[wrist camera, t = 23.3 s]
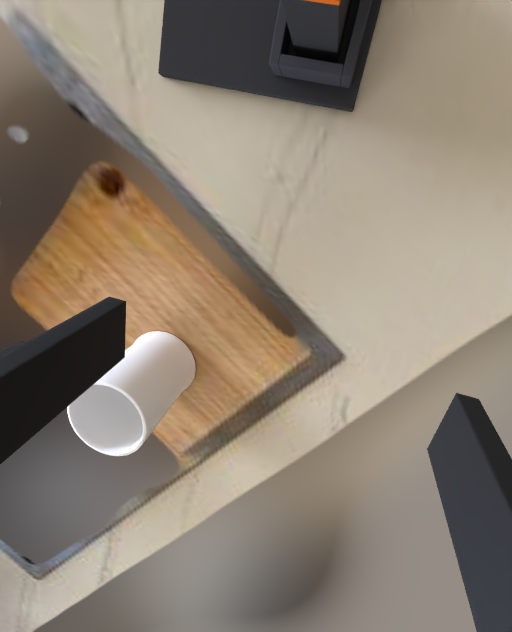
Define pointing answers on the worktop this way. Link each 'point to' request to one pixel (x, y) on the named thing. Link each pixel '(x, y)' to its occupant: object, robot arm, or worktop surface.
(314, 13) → the black orange-striped block
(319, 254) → the worktop surface
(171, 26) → the base pad
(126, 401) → the mug
